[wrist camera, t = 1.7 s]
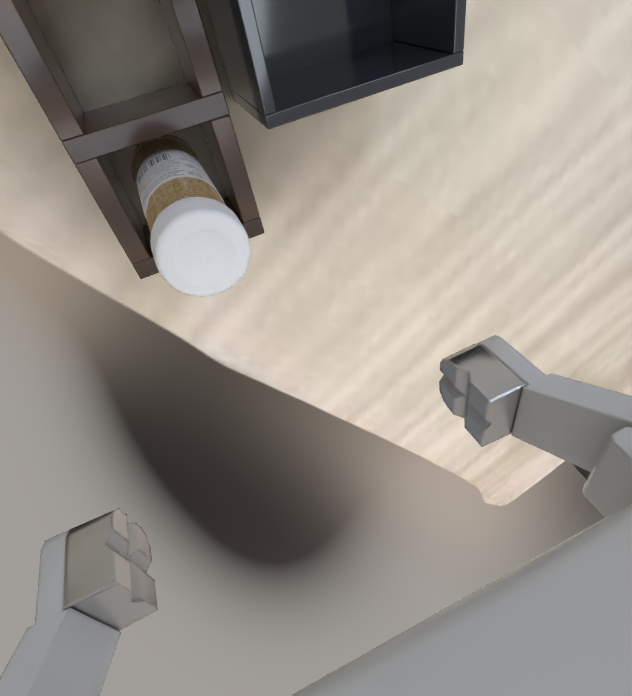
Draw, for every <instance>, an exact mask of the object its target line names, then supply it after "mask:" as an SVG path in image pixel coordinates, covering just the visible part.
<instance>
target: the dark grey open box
mask: <svg viewBox="0 0 632 696" xmlns="http://www.w3.org/2000/svg"><path fill="white" fill-rule="evenodd" d="M206 4H207V8H208V11H209V15H210V18H211V22H212V25H213V29H214V32H215V36H216V39H217V43H218V46H219V50H220V54H221V57H222V61H223V64H224V68H225V71H226V75H227V78H228V82H229V85H230V89H231V92H232V96H233V100H234V101H235V102H236V103H238V104H239V105H240V106H241V107H242V108H244V109H245V110H246V111H247V112H248V113H250V114H251V115H252V116H253V117H254V118H255V119H257V120H258V121H259V122H260V123H261V124H263V125H264V126H265V127H266V128H267V129H271V128H274V127H277V126H280V125H283V124H286V123H289V122H292V121H295V120H298V119H301V118H304V117H307V116H310V115H313V114H316V113H319V112H322V111H325V110H328V109H331V108H334V107H337V106H340V105H343V104H346V103H349V102H352V101H355V100H358V99H361V98H364V97H367V96H370V95H373V94H376V93H379V92H382V91H385V90H388V89H391V88H394V87H397V86H400V85H403V84H406V83H409V82H412V81H415V80H418V79H421V78H424V77H427V76H430V75H433V74H436V73H439V72H442V71H445V70H448V69H451V68H454V67H457V66H460V65H462V64H463V49H464V32H465V14H466V0H206Z"/></svg>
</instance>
